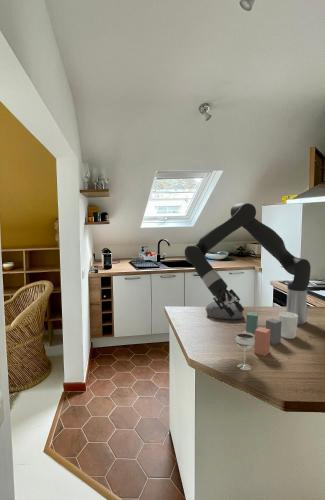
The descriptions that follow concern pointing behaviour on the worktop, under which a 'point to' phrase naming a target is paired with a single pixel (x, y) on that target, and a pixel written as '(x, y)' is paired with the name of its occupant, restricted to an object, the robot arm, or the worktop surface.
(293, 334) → the white cup
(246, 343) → the wineglass
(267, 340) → the red pillar
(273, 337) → the charcoal pillar
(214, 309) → the grey rounded bag
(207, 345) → the worktop surface
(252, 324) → the green pillar
